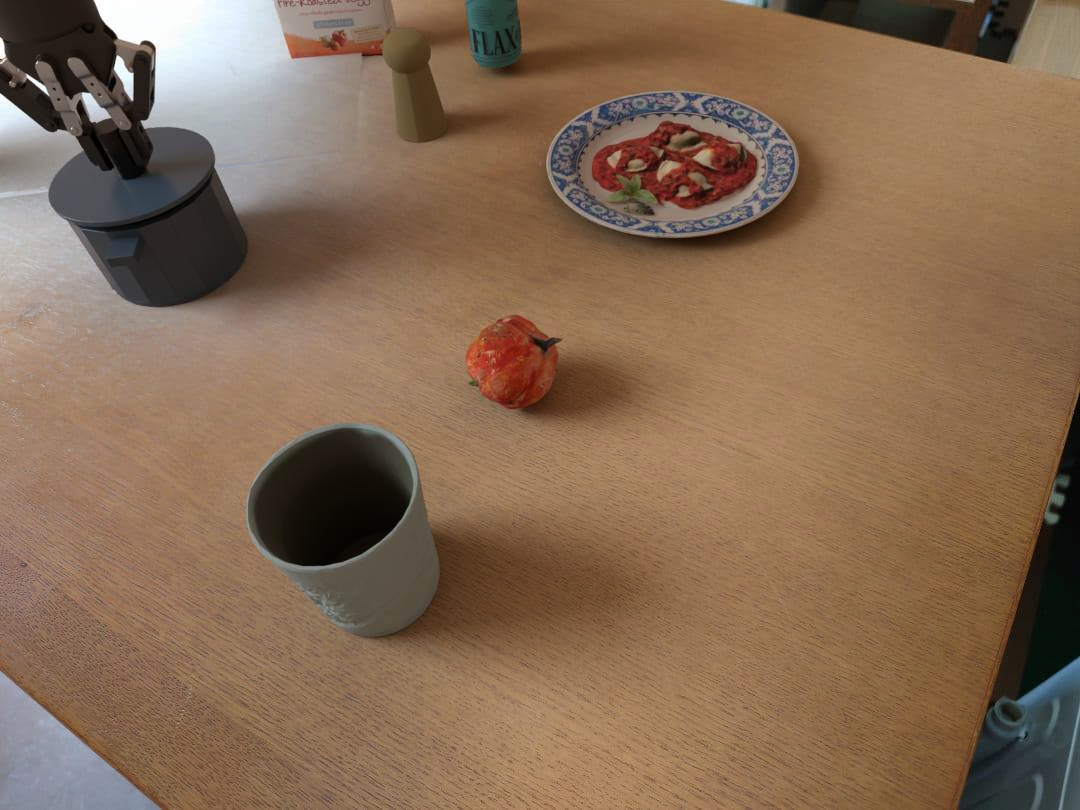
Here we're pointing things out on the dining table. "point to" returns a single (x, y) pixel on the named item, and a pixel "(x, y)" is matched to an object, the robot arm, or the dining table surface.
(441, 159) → the dining table surface
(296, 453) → the grey green cup
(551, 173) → the ceramic plate
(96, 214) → the lid
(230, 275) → the pot
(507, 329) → the pomegranate
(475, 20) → the beverage bottle
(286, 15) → the cracker box
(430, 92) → the olive peg figure
